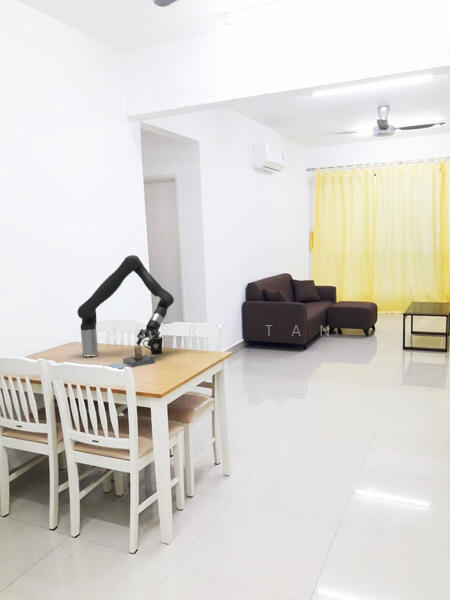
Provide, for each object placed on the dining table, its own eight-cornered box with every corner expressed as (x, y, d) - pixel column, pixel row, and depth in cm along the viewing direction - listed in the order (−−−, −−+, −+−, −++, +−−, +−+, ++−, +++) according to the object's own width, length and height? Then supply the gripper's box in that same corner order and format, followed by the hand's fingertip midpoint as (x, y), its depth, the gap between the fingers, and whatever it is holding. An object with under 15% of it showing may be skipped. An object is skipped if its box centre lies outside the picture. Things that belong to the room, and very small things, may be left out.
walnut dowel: (134, 362, 284) (133, 345, 283) (140, 361, 286) (139, 344, 285) (136, 364, 281) (135, 346, 280) (143, 362, 283) (142, 345, 282)
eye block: (123, 362, 286) (122, 358, 286) (145, 358, 293) (145, 354, 293) (131, 367, 274) (131, 362, 274) (154, 362, 281) (154, 358, 281)
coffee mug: (165, 352, 309) (164, 336, 307) (159, 355, 301) (158, 339, 299) (149, 351, 313) (148, 336, 311) (142, 354, 305) (141, 338, 303)
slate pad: (103, 366, 280) (103, 365, 280) (119, 363, 285) (119, 362, 285) (111, 370, 268) (110, 369, 268) (128, 367, 273) (128, 366, 273)
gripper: (143, 318, 295) (130, 340, 287) (160, 319, 287) (148, 342, 279) (149, 325, 300) (137, 347, 292) (167, 327, 292) (155, 349, 284)
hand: (143, 345), depth 286 cm, fingers open, 8 cm apart
